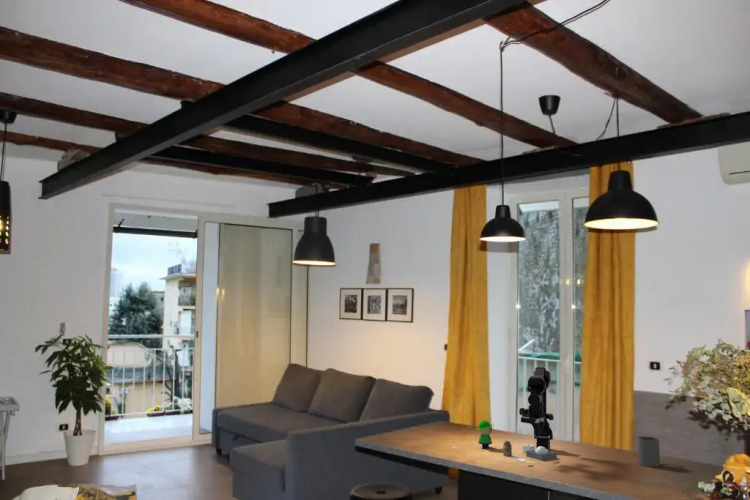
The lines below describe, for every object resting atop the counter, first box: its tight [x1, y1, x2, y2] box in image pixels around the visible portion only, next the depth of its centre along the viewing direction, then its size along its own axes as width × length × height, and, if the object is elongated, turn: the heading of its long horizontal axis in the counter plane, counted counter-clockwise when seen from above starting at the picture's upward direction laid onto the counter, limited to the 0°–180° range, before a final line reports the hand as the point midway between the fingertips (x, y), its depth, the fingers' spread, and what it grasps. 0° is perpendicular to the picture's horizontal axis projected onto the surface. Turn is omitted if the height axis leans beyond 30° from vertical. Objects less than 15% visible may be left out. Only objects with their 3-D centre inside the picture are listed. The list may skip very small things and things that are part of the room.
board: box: [501, 454, 537, 468], centre depth 301 cm, size 20×22×1 cm
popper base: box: [525, 449, 558, 462], centre depth 301 cm, size 10×10×3 cm
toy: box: [476, 420, 495, 450], centre depth 323 cm, size 9×9×15 cm
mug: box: [637, 436, 661, 468], centre depth 293 cm, size 14×9×12 cm
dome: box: [534, 446, 548, 454], centre depth 301 cm, size 6×6×5 cm
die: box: [522, 443, 535, 455], centre depth 310 cm, size 4×4×4 cm
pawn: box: [502, 440, 513, 457], centre depth 304 cm, size 4×4×7 cm
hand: (537, 436), depth 302 cm, fingers closed
